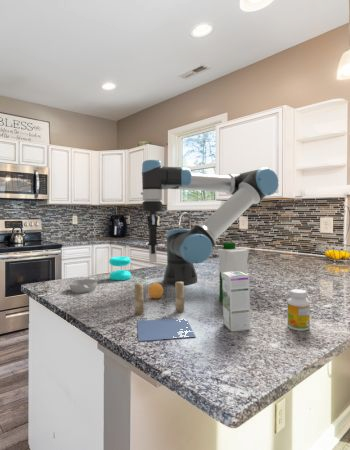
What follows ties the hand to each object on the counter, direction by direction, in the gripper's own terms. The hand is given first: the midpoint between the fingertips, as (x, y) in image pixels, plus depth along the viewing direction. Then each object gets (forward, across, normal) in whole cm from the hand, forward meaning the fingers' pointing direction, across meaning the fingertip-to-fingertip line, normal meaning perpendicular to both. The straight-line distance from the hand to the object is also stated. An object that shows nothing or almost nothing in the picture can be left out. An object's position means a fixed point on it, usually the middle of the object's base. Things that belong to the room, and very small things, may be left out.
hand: (152, 261), depth 121 cm
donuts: (+12, -28, -14) cm, 33 cm away
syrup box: (+12, +41, +19) cm, 47 cm away
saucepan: (+12, -5, -27) cm, 30 cm away
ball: (+9, +9, 0) cm, 13 cm away
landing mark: (+12, +39, 0) cm, 41 cm away
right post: (+12, +25, +7) cm, 29 cm away
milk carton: (+12, +18, +26) cm, 34 cm away
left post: (+12, +25, -6) cm, 29 cm away
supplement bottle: (+12, +44, +35) cm, 58 cm away
